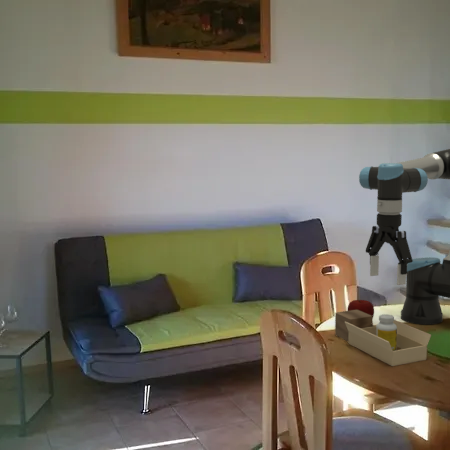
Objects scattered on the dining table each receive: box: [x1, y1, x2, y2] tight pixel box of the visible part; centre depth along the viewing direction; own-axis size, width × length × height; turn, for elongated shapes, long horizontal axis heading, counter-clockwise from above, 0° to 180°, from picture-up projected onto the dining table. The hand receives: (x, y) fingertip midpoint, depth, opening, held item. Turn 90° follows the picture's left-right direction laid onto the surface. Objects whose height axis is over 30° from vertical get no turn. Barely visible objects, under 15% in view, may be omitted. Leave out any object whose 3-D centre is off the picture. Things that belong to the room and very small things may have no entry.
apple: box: [346, 299, 375, 317], centre depth 230 cm, size 10×10×10 cm
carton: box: [345, 319, 432, 367], centre depth 204 cm, size 16×23×8 cm
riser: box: [334, 310, 374, 342], centre depth 219 cm, size 9×9×8 cm
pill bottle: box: [375, 313, 397, 351], centre depth 204 cm, size 6×6×12 cm
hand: (387, 279), depth 202 cm, fingers open, 13 cm apart
